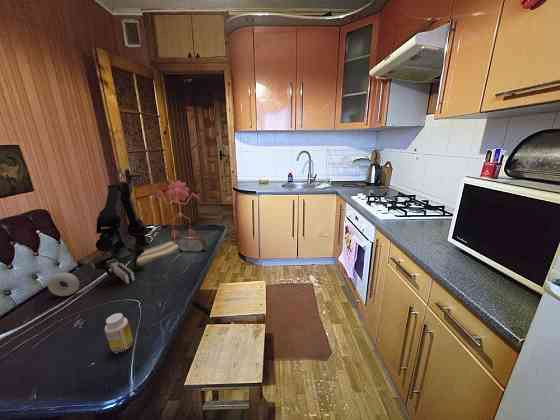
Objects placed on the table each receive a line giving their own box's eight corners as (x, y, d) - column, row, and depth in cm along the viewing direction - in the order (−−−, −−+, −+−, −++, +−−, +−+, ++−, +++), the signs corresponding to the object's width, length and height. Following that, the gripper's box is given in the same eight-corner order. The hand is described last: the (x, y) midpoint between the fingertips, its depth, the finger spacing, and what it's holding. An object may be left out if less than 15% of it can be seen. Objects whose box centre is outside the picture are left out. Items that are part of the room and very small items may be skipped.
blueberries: (91, 315, 83) (90, 310, 83) (97, 324, 78) (96, 319, 78) (67, 326, 78) (65, 322, 78) (71, 337, 73) (70, 332, 73)
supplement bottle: (129, 335, 73) (122, 308, 70) (136, 344, 70) (128, 316, 67) (108, 347, 69) (99, 319, 66) (114, 358, 66) (105, 328, 63)
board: (129, 258, 121) (128, 255, 120) (170, 243, 137) (170, 240, 137) (140, 266, 113) (139, 263, 113) (182, 249, 129) (182, 246, 129)
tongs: (111, 269, 111) (109, 262, 109) (119, 266, 113) (117, 259, 112) (126, 283, 100) (124, 275, 98) (135, 279, 102) (133, 271, 101)
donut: (84, 290, 96) (77, 269, 93) (79, 295, 93) (72, 273, 90) (55, 294, 94) (47, 272, 91) (49, 300, 91) (41, 277, 88)
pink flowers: (204, 239, 141) (196, 181, 131) (159, 242, 138) (148, 183, 129) (209, 230, 156) (202, 177, 146) (168, 233, 153) (159, 179, 143)
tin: (207, 250, 128) (205, 235, 125) (204, 252, 125) (202, 238, 122) (180, 249, 129) (178, 235, 127) (177, 252, 126) (175, 237, 124)
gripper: (94, 255, 89) (104, 290, 94) (146, 238, 103) (152, 269, 107) (86, 247, 96) (96, 280, 100) (135, 232, 109) (142, 262, 114)
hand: (123, 273), depth 105 cm, fingers open, 9 cm apart
